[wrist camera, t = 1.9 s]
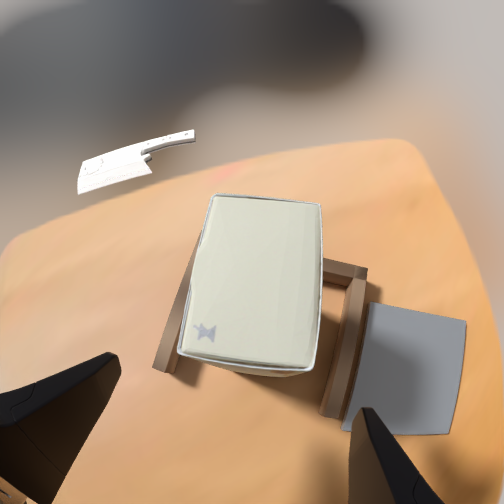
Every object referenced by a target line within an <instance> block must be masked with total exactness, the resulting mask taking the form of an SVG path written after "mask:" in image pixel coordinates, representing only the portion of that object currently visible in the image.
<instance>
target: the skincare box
mask: <svg viewBox="0 0 504 504" xmlns="http://www.w3.org/2000/svg"><path fill="white" fill-rule="evenodd" d="M322 285H323V236H322V214H321V205H320V204H319V203H314V202H304V201H297V200H290V199H281V198H274V197H261V196H252V195H240V194H226V193H216V194H214V195H213V196H212V197H211V199H210V203H209V207H208V210H207V214H206V218H205V221H204V225H203V229H202V233H201V237H200V242H199V245H198V249H197V253H196V257H195V261H194V265H193V270H192V275H191V280H190V286H189V291H188V295H187V300H186V304H185V310H184V315H183V320H182V325H181V331H180V336H179V342H178V346H177V353H178V354H180V355H182V356H185V357H188V358H191V359H194V360H197V361H200V362H203V363H207V364H210V365H213V366H216V367H219V368H223V369H226V370H230V371H235V372H241V373H247V374H254V375H261V376H271V377H288V376H294V375H298V374H302V373H306V372H309V371H311V370H312V369H313V367H314V365H315V358H316V352H317V345H318V337H319V329H320V319H321V305H322Z"/></svg>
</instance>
